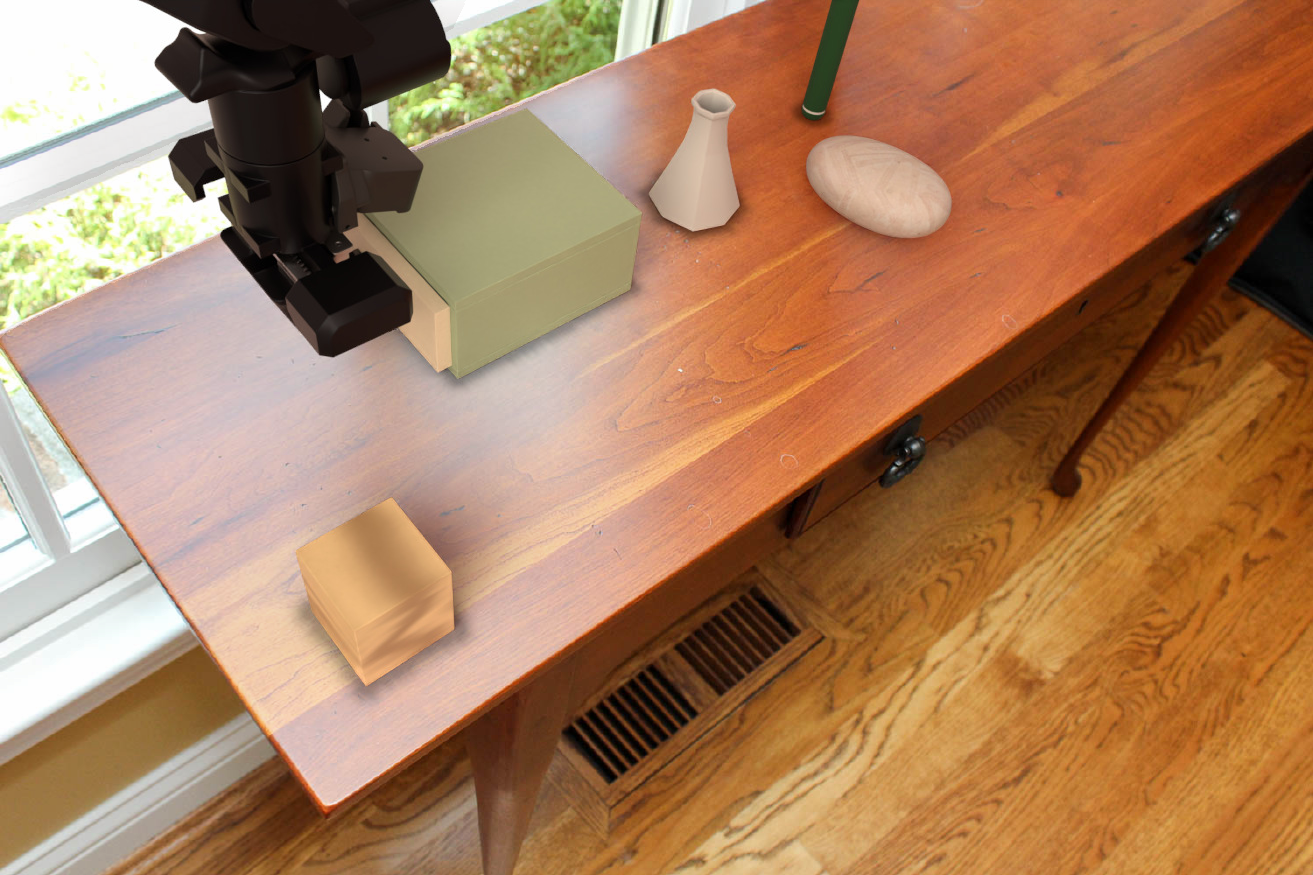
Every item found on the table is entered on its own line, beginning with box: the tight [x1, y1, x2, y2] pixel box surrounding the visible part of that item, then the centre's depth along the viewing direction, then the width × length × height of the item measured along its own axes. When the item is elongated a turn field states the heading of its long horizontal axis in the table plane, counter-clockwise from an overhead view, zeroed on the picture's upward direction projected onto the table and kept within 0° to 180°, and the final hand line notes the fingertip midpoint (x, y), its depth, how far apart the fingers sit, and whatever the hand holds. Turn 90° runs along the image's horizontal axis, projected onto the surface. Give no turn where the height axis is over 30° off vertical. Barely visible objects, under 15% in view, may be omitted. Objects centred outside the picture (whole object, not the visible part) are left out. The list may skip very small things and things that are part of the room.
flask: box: [648, 87, 741, 232], centre depth 85 cm, size 7×7×10 cm
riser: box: [295, 496, 455, 687], centre depth 61 cm, size 6×6×7 cm
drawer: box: [343, 213, 452, 373], centre depth 76 cm, size 20×13×6 cm, turn 130°
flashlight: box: [801, 0, 860, 122], centre depth 90 cm, size 5×5×20 cm
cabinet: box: [363, 107, 643, 380], centre depth 78 cm, size 16×14×8 cm
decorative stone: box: [805, 134, 953, 239], centre depth 89 cm, size 13×9×5 cm
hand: (304, 326), depth 71 cm, fingers closed, pressing on drawer
